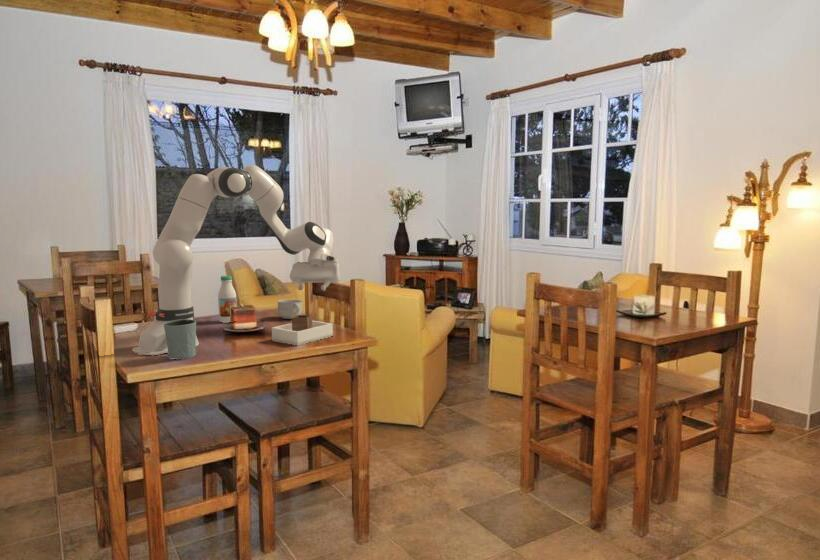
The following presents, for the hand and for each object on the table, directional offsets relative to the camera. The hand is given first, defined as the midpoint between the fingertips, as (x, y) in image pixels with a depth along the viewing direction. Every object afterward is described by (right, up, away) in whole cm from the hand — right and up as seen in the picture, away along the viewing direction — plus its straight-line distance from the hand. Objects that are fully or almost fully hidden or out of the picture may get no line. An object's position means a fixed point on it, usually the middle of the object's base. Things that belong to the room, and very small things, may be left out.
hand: (311, 289), depth 236 cm
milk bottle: (-40, -14, +24) cm, 49 cm away
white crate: (-2, -18, -10) cm, 21 cm away
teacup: (-14, -14, +29) cm, 35 cm away
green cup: (-38, -22, -35) cm, 56 cm away
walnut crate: (-2, -17, -10) cm, 20 cm away
